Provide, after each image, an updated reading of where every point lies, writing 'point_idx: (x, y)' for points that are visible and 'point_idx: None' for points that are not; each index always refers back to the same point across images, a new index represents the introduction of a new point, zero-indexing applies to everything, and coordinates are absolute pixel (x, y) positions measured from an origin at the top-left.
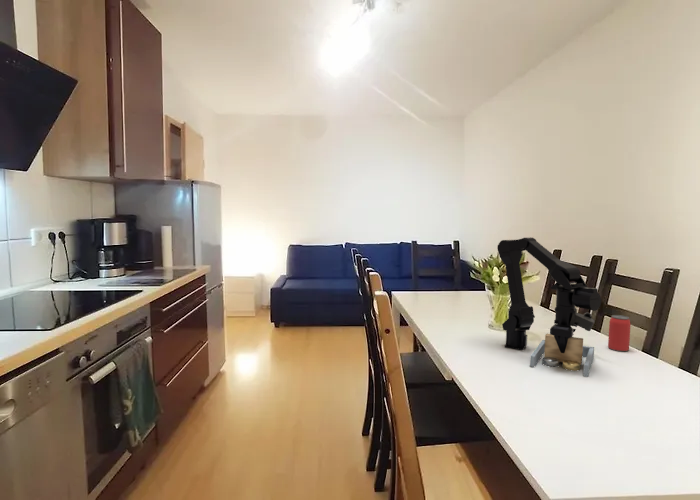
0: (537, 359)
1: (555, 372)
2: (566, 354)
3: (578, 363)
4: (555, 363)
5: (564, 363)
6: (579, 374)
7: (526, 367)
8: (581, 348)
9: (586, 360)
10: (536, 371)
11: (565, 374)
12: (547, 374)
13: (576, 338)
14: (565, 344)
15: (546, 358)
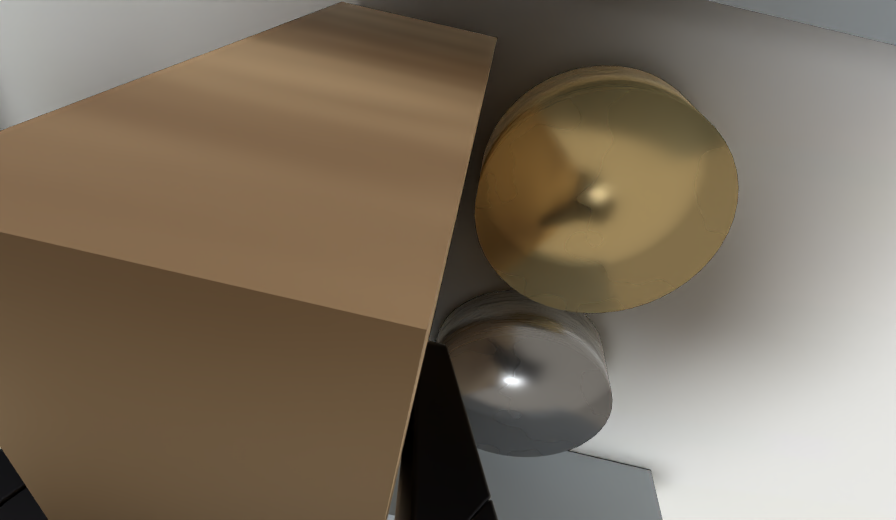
0: (493, 459)
1: (792, 353)
2: (436, 302)
3: (626, 117)
4: (602, 361)
5: (644, 298)
6: (884, 106)
7: (661, 505)
8: (464, 154)
9: (836, 1)
10: (766, 471)
11: (872, 276)
12: (861, 419)
13: (155, 458)
14: (483, 506)
15: (507, 431)
